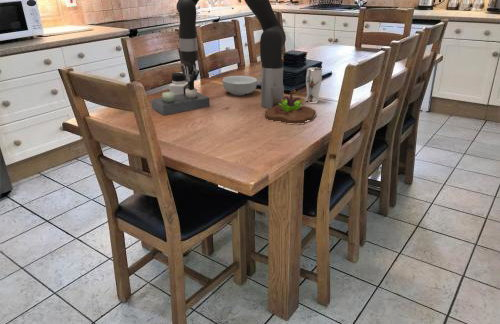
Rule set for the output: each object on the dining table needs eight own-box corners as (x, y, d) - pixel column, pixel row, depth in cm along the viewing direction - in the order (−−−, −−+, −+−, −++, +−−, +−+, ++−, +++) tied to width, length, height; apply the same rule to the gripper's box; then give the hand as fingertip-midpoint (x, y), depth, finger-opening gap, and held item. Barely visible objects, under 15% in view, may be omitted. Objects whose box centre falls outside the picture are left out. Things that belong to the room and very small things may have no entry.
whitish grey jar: (200, 104, 180) (199, 89, 177) (189, 106, 177) (188, 91, 174) (194, 102, 184) (193, 87, 181) (184, 104, 181) (183, 89, 178)
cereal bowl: (242, 100, 188) (242, 85, 185) (215, 94, 197) (215, 80, 194) (263, 92, 200) (264, 78, 197) (237, 87, 209) (237, 73, 206)
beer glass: (302, 102, 184) (304, 69, 178) (307, 98, 190) (309, 66, 184) (317, 104, 182) (319, 71, 175) (322, 100, 187) (324, 68, 181)
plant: (322, 114, 171) (324, 88, 166) (303, 128, 155) (305, 99, 151) (279, 107, 180) (280, 82, 175) (258, 119, 165) (258, 92, 160)
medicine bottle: (184, 101, 187) (182, 75, 182) (170, 100, 188) (167, 74, 183) (189, 96, 193) (188, 71, 188) (175, 96, 195) (173, 71, 189)
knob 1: (177, 109, 174) (176, 93, 171) (166, 111, 172) (165, 95, 169) (172, 106, 178) (171, 91, 175) (161, 108, 175) (159, 92, 173)
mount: (209, 106, 179) (209, 97, 178) (163, 115, 168) (162, 106, 166) (196, 100, 188) (196, 91, 186) (152, 108, 177) (151, 99, 175)
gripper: (204, 50, 168) (206, 91, 175) (189, 46, 177) (191, 85, 185) (188, 52, 164) (190, 94, 171) (173, 47, 173) (176, 87, 181)
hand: (191, 89), depth 178 cm, fingers closed
